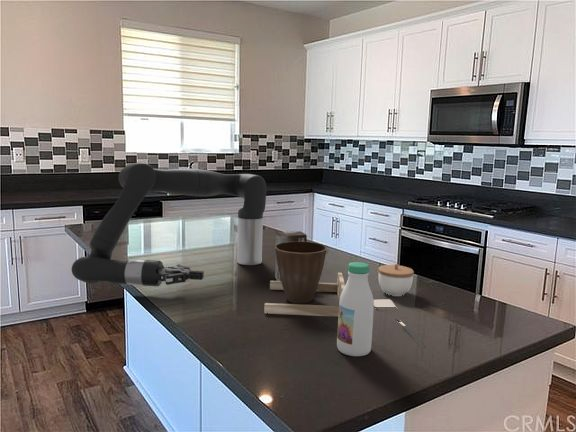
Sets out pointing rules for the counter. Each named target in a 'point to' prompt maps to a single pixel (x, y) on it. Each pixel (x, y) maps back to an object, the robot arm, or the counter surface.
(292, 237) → the coffee box
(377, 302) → the spatula
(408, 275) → the lidded jar
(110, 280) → the robot arm
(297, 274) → the plant pot
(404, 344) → the counter surface
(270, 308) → the wooden frame
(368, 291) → the milk bottle
